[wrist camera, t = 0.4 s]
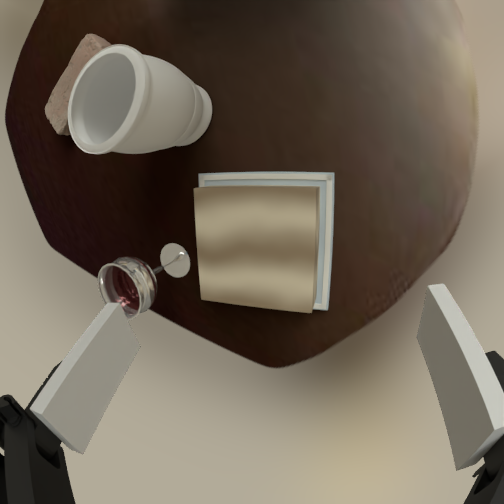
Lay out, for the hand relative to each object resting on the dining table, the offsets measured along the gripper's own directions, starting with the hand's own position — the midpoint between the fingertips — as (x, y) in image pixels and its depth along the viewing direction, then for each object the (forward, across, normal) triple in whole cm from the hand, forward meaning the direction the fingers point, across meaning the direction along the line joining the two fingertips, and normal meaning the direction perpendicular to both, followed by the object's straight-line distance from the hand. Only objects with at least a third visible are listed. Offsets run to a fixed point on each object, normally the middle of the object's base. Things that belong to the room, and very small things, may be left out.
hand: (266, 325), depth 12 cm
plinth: (+23, -3, -7) cm, 25 cm away
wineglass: (+25, -16, -9) cm, 31 cm away
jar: (+28, -12, +10) cm, 32 cm away
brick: (+34, -30, +20) cm, 49 cm away
